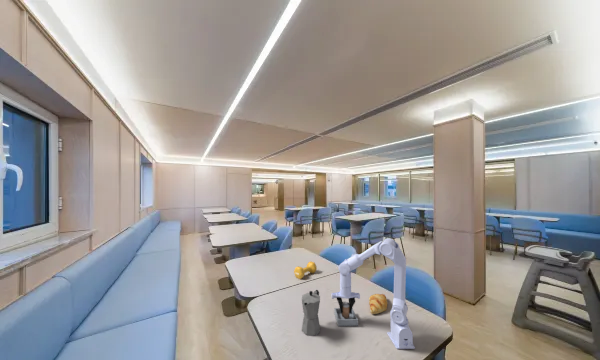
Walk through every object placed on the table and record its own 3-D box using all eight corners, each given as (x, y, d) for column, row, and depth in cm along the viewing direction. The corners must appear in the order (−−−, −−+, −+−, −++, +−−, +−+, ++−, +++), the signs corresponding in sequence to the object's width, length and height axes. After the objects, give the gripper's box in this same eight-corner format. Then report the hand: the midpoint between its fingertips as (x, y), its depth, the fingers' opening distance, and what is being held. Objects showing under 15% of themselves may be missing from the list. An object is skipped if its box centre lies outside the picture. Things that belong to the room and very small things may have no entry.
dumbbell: (301, 281, 149) (301, 269, 149) (292, 277, 155) (292, 266, 156) (317, 273, 163) (317, 262, 163) (309, 270, 169) (309, 260, 169)
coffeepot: (314, 342, 90) (314, 300, 91) (295, 334, 95) (295, 295, 95) (326, 321, 104) (326, 285, 104) (310, 316, 108) (310, 281, 109)
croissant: (377, 324, 107) (384, 313, 105) (360, 309, 113) (367, 298, 110) (388, 305, 124) (394, 295, 122) (373, 292, 129) (379, 283, 127)
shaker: (350, 318, 104) (350, 306, 104) (342, 318, 103) (342, 306, 104) (348, 313, 108) (348, 301, 108) (340, 313, 107) (340, 301, 108)
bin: (358, 326, 100) (358, 320, 101) (338, 326, 100) (337, 320, 100) (352, 313, 110) (352, 308, 111) (334, 313, 110) (334, 308, 110)
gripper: (357, 281, 110) (357, 307, 110) (330, 281, 110) (330, 307, 109) (361, 288, 103) (361, 315, 103) (332, 288, 103) (332, 315, 102)
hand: (345, 312), depth 105 cm, fingers closed on shaker, 4 cm apart
